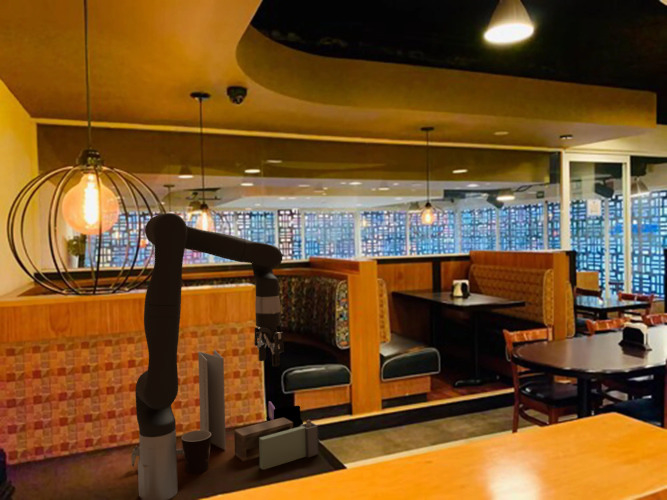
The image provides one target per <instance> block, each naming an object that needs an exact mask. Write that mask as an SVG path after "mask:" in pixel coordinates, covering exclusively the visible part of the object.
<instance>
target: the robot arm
mask: <svg viewBox="0 0 667 500" xmlns="http://www.w3.org/2000/svg"><path fill="white" fill-rule="evenodd" d="M144 233H145V237H146V239H147V240H148V241H149V243H151V244H152V245H153V246H154V263H153V270H152V274H151V277H150V279H149V282H148V286H147V288H146V292H145V296H144V297H145V298H144V305H143V306H144V307H143V310H144V311H143V328H144V335H145V339H146V345H147V351H148V364H147V370H145V371H144V372H143V373H141V374H140V375H139V377H138V379H137V380H136V384H135V394H134V396H135V410H136V411H135V412H136V420H137V425H138V429H139V431H138V432H139V446H140V456H139V457H140V460H139V459H138V460H137V476H138V477H137V478H138V496H139V498H140V499H141V500H171V499H172V498H174V497H175V496H176V495H177V493H178V466H177V465H178V464H177V463H178V462H177V461H178V460H177V456H178V455H176V449H177V429H176V427H177V423H176V418H175V415H174V411H173V408H172V404H173V403H174V402H175V401H176V399H177V396H178V393H179V376H178V375H179V374H178V371H179V370H178V347H179V339H180V338H179V334H180V322H181V314H182V313H181V310H182V309H181V308H182V287H183V286H182V285H183V263H184V257H185V255H184V254H185V252H186V251H185V250H190V251H196V252H200V253H203V254H208V255H211V256H215V257H218V258H223V259H225V260H230V261H234V262H239V263H247V264H251V269H252V274H253V276H254V279H255V302H254V303H255V304H254V305H255V306H254V307H255V326H256V327H254V340H253V341H254V346H255V347H256V349H258V361H259V362H265V361H266V360H267V348H266V347H268V348H269V349H270V352H271V353H272V354H271V365H272V367H275V368H276V367H278V366H280V365H281V363H280V357H281V355H280V354H281V353H284V352H285V343H284V333H283V331H279V332H278V327H280V326H281V323H282V322H281V301H280V285H279V278H278V277H276V276H275V274H274V270H273V269H275V268H278V267H279V265H281V264H282V261H283V253H282V251H281V250H280V248H278V247H277V246H276V245H272V244H268V243H264V242H260V241H259V242H257V241H252V240H248V239H246V238H243V237H239V236H235V235H231V234H226V233H222V232H217V231H211V230H204V229H200V228H196V227H193V226H190V225H187V223H186V221H185V220H184V218H183V217H181V216H180V215H178V214H177V213H174V212H166V213H162V214H161V213H160V214H157V215H154V216H153V217H151V218H150V219H149V220H147V223H146V224H145V229H144Z"/></svg>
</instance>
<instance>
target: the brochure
mask: <svg viewBox="0 0 667 500" xmlns="http://www.w3.org/2000/svg"><path fill="white" fill-rule="evenodd" d="M197 353H198V354H197V355H198V357H197V358H198V384H199V385H198V388H199V389H198V391H199V392H198V393H199V395H198V396H199V427H200V428H199V429H200V430H204V431H209V432H210V433H211V443H210V444H212V445H214V446H216V447H217V448H220V449H221V450H224V451H226V450H227V447H226V445H227V443H226V441H227V440H226V439H227V438H226V404H225V402H226V400H225V365H224V357H223V356H222V355H221V354H220V353H218V351H217V350H215V349H213V354H210V353H207V352H203V351H197Z"/></svg>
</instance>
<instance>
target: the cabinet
mask: <svg viewBox="0 0 667 500" xmlns="http://www.w3.org/2000/svg"><path fill="white" fill-rule="evenodd" d="M311 422H312V420H310V419H307V420H306V421H305V424H306V428H310V427H311ZM293 428H294V426H293V422H291V421H290V420H288V419H286V418H284V417H283V418H279V419H275V420H271V421H265V422H259V423H256V424H252V425H248V426H245V427H240V428H236V429H234V431H233V432H234V434H233V435H234V456H236V457H237V458H238V459H239V460H241V461H242V462H246V461H250V460H253V459H255V458H260V455H259V438H260V437H264V436H268V435H271V434H275V433H278V432H282V431H286V430H289V429H293Z"/></svg>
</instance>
